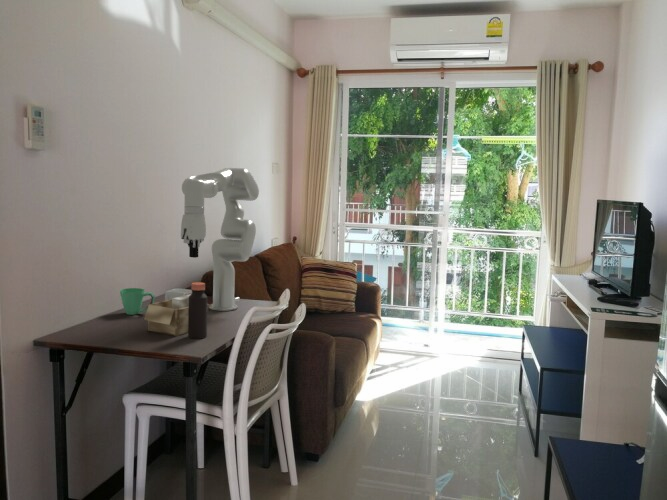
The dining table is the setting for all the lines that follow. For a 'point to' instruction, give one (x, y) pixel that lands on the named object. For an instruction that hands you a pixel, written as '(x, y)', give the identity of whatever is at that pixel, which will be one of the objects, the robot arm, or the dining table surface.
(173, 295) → the ink box
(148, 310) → the front flap
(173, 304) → the carton
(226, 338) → the dining table surface
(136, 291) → the mug
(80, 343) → the dining table surface
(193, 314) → the bottle
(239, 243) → the robot arm
